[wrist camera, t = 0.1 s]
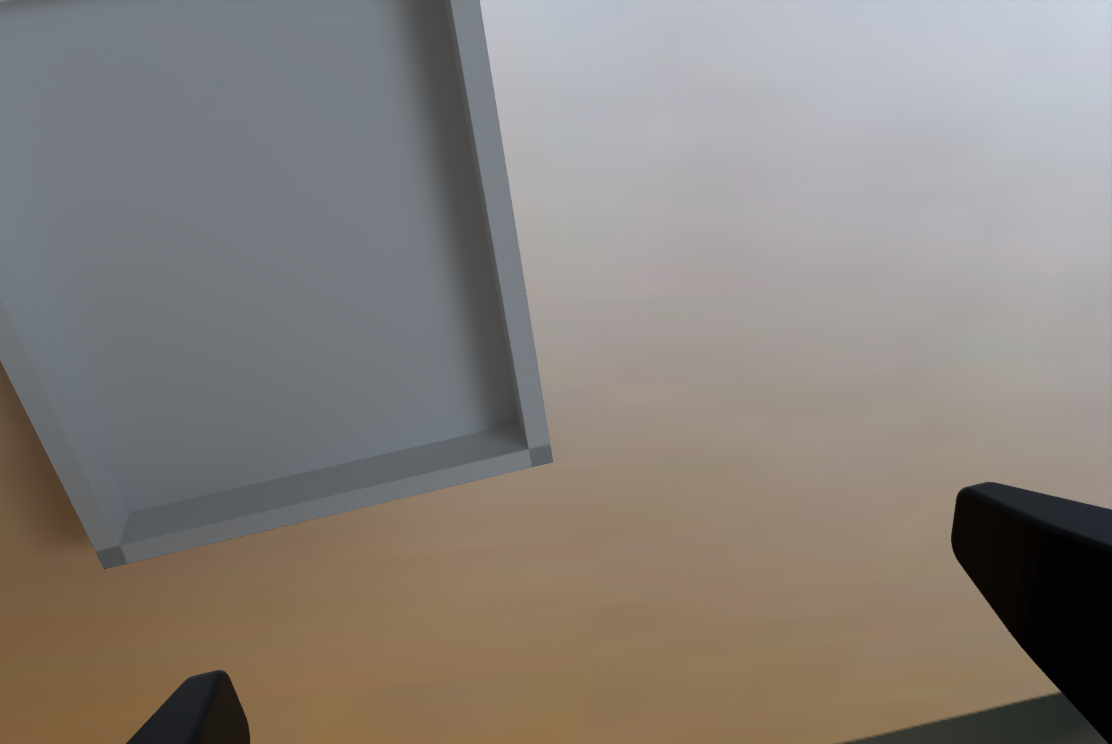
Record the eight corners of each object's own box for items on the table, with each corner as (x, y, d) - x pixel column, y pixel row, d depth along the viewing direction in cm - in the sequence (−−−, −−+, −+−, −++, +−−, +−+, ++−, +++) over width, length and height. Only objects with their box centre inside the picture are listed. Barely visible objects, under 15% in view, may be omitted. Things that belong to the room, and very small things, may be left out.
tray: (-137, -18, 18) (-183, -6, 17) (450, -108, 20) (463, -106, 18) (118, 521, 25) (104, 568, 24) (538, 424, 27) (553, 462, 25)
